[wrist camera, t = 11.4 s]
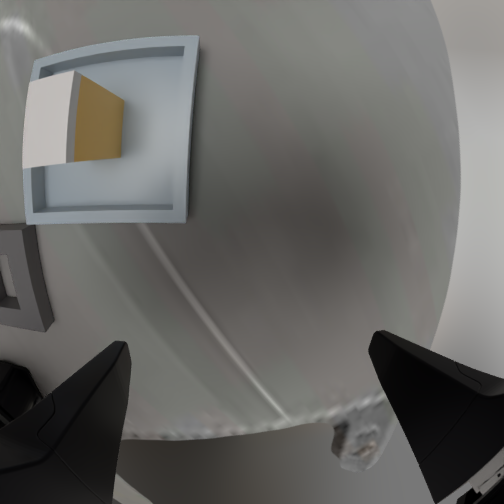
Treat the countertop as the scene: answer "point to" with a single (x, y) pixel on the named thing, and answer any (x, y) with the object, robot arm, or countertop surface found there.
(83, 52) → the parts tray
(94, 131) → the block
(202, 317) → the countertop surface
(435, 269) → the countertop surface
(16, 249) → the block
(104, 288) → the countertop surface
